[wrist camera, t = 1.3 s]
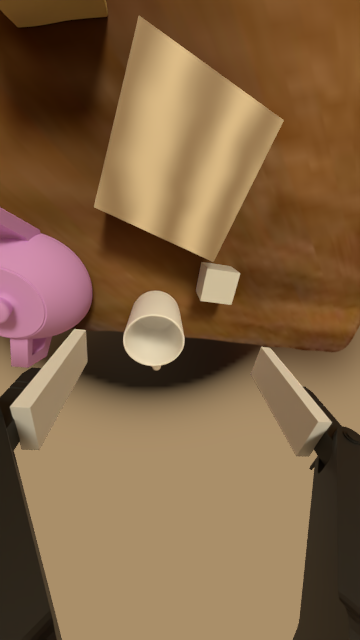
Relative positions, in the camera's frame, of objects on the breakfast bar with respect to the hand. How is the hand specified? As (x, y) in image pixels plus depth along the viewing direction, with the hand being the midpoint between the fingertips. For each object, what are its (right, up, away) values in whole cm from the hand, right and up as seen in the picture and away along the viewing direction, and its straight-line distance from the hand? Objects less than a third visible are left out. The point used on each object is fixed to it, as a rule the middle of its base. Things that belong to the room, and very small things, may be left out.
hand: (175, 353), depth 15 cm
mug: (-4, +3, +22) cm, 23 cm away
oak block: (0, +22, +13) cm, 26 cm away
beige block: (+6, +10, +20) cm, 23 cm away
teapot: (-21, +9, +18) cm, 29 cm away
